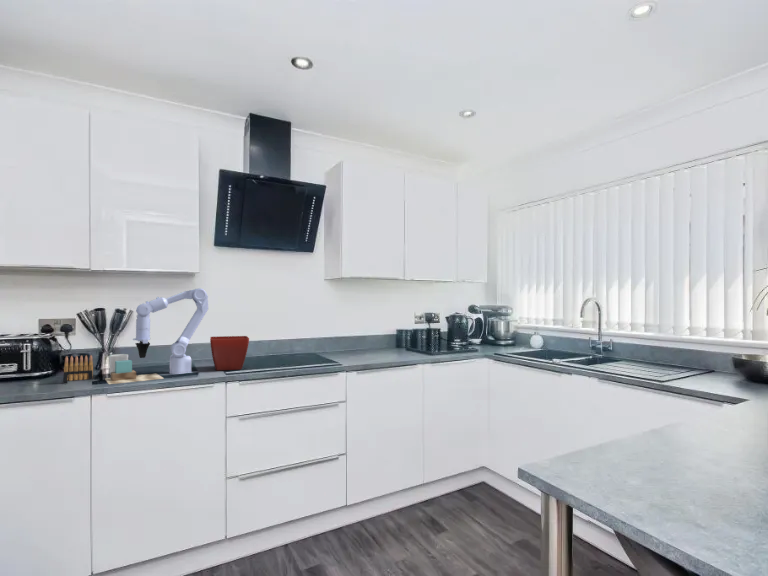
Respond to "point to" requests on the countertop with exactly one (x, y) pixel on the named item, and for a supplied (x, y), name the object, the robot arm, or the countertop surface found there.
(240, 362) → the plant pot
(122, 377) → the walnut base block
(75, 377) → the ammunition clip
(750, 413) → the countertop surface
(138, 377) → the birch board
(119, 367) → the teal brick
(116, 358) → the white cup
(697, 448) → the countertop surface
